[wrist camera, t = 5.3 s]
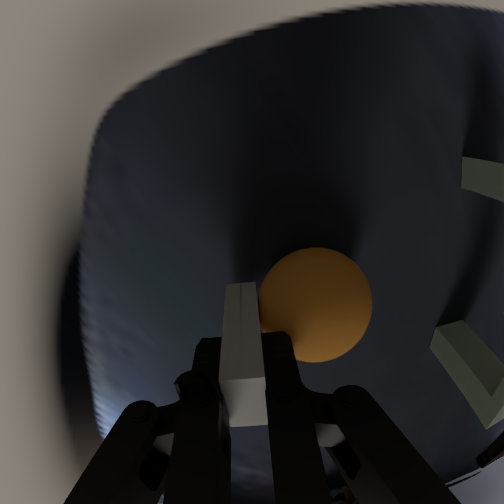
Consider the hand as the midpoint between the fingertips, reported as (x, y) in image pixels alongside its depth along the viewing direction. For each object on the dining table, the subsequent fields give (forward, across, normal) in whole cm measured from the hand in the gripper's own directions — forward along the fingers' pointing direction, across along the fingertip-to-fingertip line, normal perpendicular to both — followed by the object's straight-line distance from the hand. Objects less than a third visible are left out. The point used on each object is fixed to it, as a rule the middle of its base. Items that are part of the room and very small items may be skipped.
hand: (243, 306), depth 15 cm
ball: (-1, -4, 0) cm, 4 cm away
